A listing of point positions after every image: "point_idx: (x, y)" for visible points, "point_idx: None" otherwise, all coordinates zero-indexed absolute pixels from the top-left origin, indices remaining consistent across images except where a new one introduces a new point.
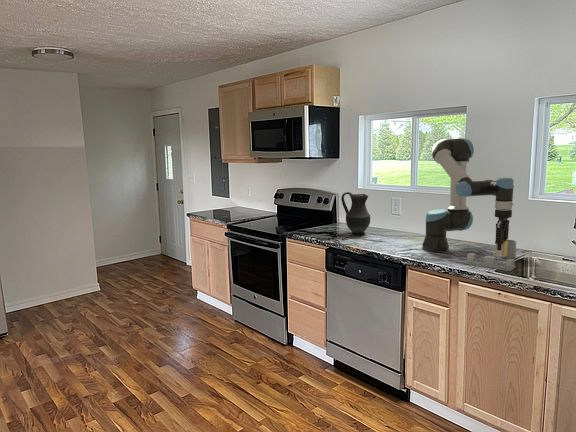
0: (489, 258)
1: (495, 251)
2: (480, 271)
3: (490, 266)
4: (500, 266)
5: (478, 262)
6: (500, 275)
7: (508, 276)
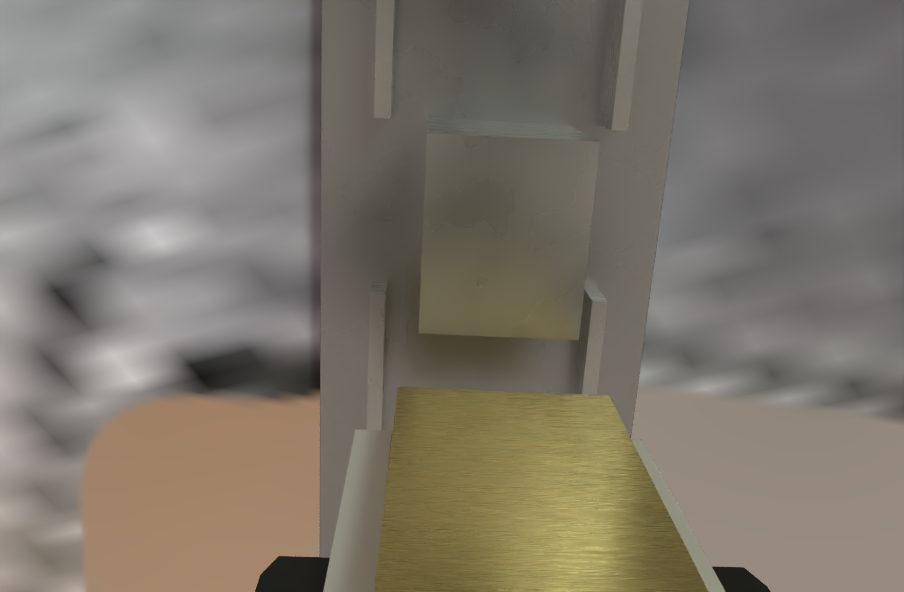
0: (424, 240)
1: (394, 445)
2: (13, 168)
3: (356, 251)
4: (367, 418)
5: (377, 10)
6: (24, 482)
7: (56, 577)
